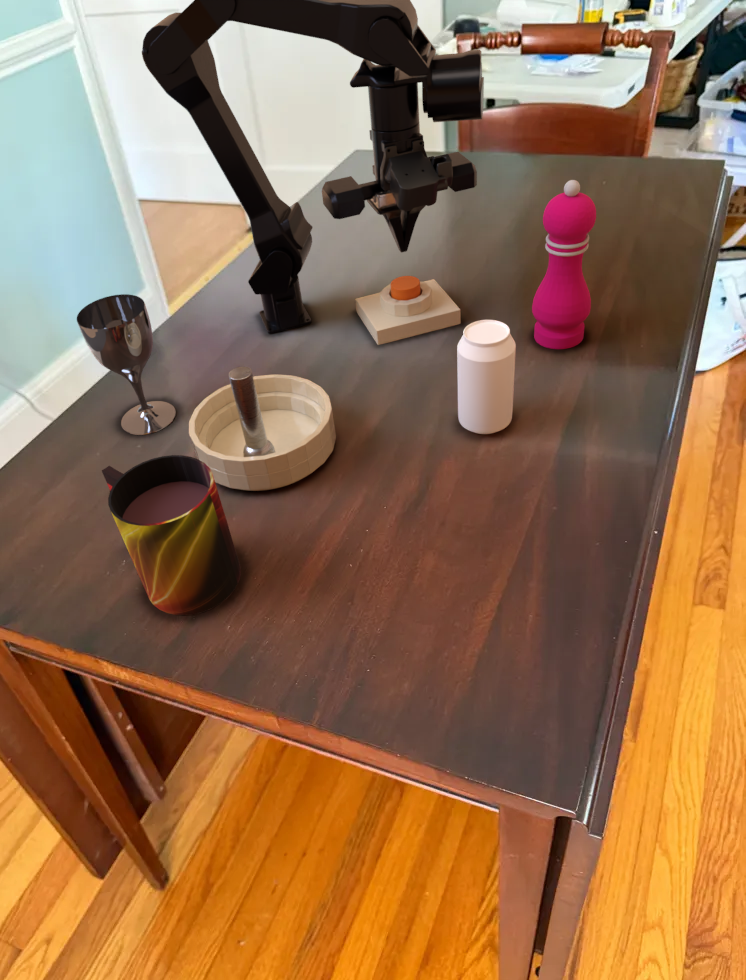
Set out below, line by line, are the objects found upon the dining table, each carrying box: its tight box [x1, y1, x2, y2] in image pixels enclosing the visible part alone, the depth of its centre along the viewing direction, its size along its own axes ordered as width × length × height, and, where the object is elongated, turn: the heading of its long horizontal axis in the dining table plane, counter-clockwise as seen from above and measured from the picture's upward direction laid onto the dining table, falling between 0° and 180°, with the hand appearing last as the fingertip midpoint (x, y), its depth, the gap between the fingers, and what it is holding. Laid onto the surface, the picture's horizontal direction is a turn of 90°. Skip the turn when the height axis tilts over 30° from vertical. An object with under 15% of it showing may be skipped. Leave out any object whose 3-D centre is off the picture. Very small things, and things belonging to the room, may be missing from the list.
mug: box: [101, 454, 242, 616], centre depth 75 cm, size 10×14×12 cm
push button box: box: [354, 278, 462, 346], centre depth 109 cm, size 10×12×4 cm
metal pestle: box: [228, 366, 275, 457], centre depth 84 cm, size 4×4×12 cm
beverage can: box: [456, 319, 517, 435], centre depth 87 cm, size 6×6×12 cm
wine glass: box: [76, 293, 177, 436], centre depth 95 cm, size 8×8×15 cm
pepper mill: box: [531, 179, 597, 350], centre depth 95 cm, size 7×7×20 cm
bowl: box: [188, 373, 337, 492], centre depth 91 cm, size 16×17×5 cm
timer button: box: [390, 275, 421, 300], centre depth 107 cm, size 4×4×2 cm
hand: (402, 250), depth 103 cm, fingers closed
